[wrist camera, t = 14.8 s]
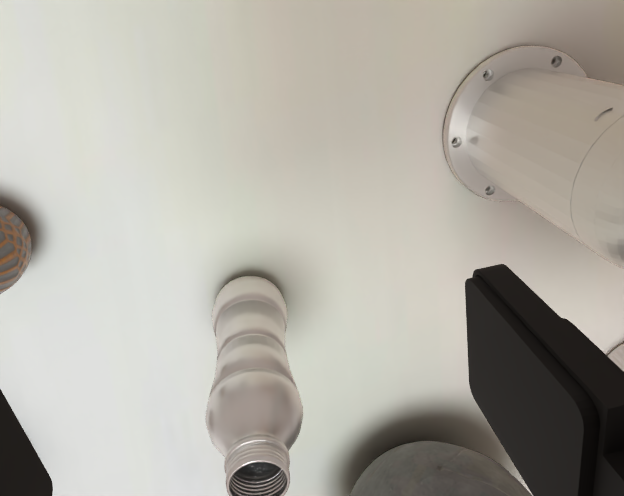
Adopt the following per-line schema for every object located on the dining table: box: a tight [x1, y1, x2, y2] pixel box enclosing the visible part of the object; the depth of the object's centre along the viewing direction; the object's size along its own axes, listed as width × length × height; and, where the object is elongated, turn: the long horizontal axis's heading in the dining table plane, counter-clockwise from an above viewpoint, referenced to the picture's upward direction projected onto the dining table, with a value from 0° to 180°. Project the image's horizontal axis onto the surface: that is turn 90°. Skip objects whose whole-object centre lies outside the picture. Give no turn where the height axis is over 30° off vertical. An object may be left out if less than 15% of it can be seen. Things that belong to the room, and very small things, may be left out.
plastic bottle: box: [206, 276, 303, 496], centre depth 38 cm, size 6×7×20 cm
